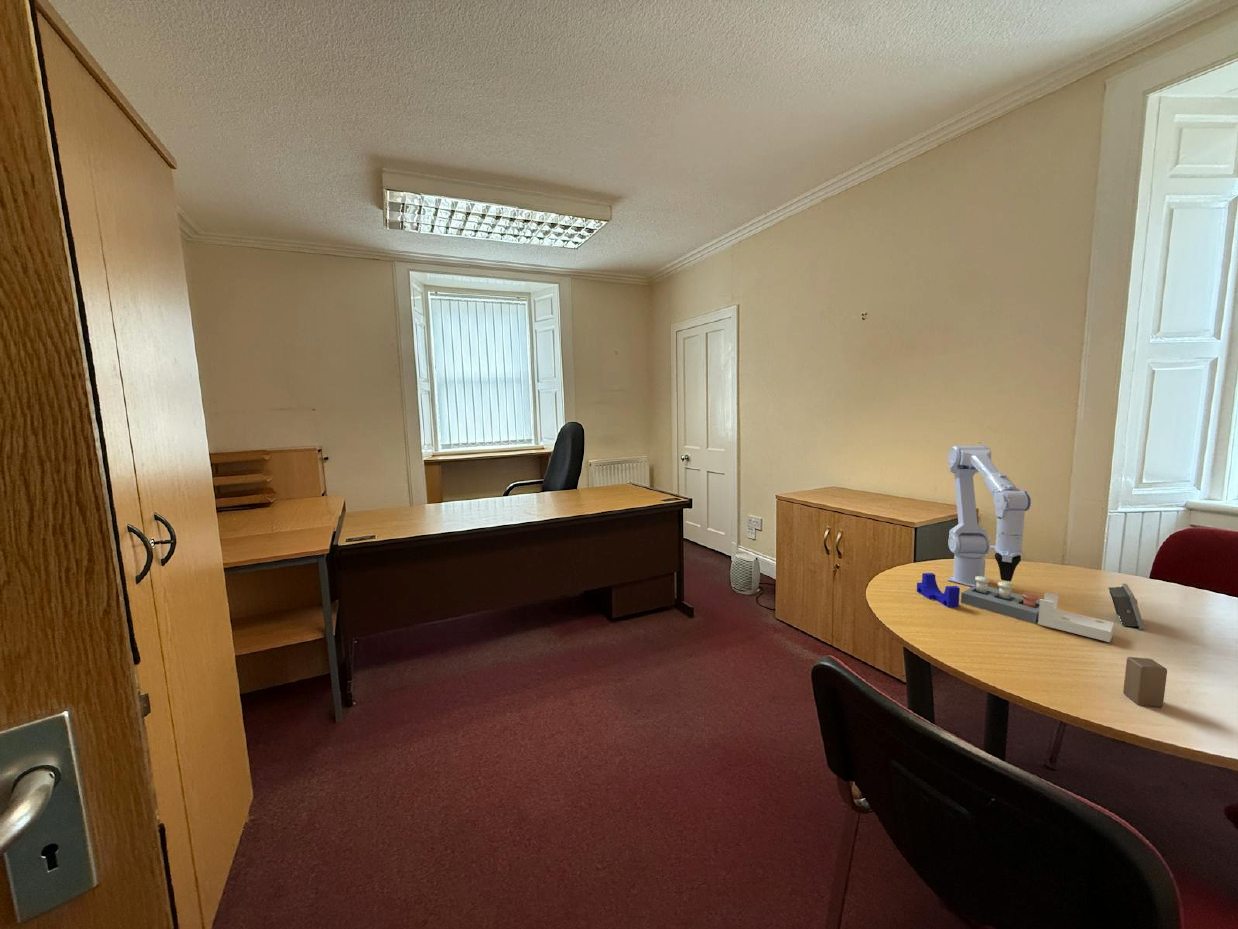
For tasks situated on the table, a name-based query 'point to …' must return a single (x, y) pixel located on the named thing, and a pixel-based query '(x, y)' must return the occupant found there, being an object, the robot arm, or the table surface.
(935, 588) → the blue cradle holder
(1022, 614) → the socket strip
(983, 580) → the cream plug near
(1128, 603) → the electrical switch
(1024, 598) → the red plug
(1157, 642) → the table surface
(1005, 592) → the cream plug mid
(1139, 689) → the wooden block
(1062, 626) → the bracket
